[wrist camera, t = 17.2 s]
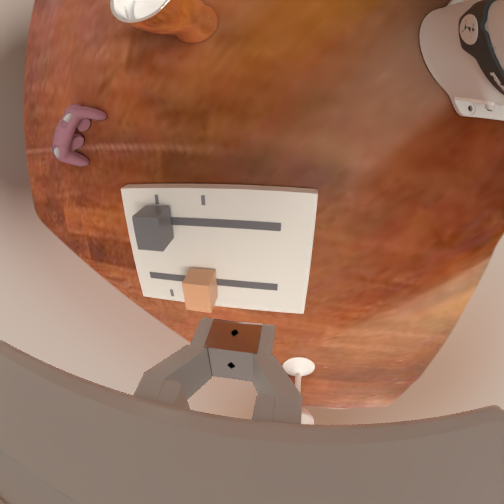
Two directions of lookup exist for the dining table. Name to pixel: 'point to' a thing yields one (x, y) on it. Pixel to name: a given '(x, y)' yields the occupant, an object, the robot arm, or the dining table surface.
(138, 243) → the block
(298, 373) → the champagne flute
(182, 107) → the dining table surface
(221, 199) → the fader panel
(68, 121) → the video game controller
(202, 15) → the beer glass
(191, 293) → the block
